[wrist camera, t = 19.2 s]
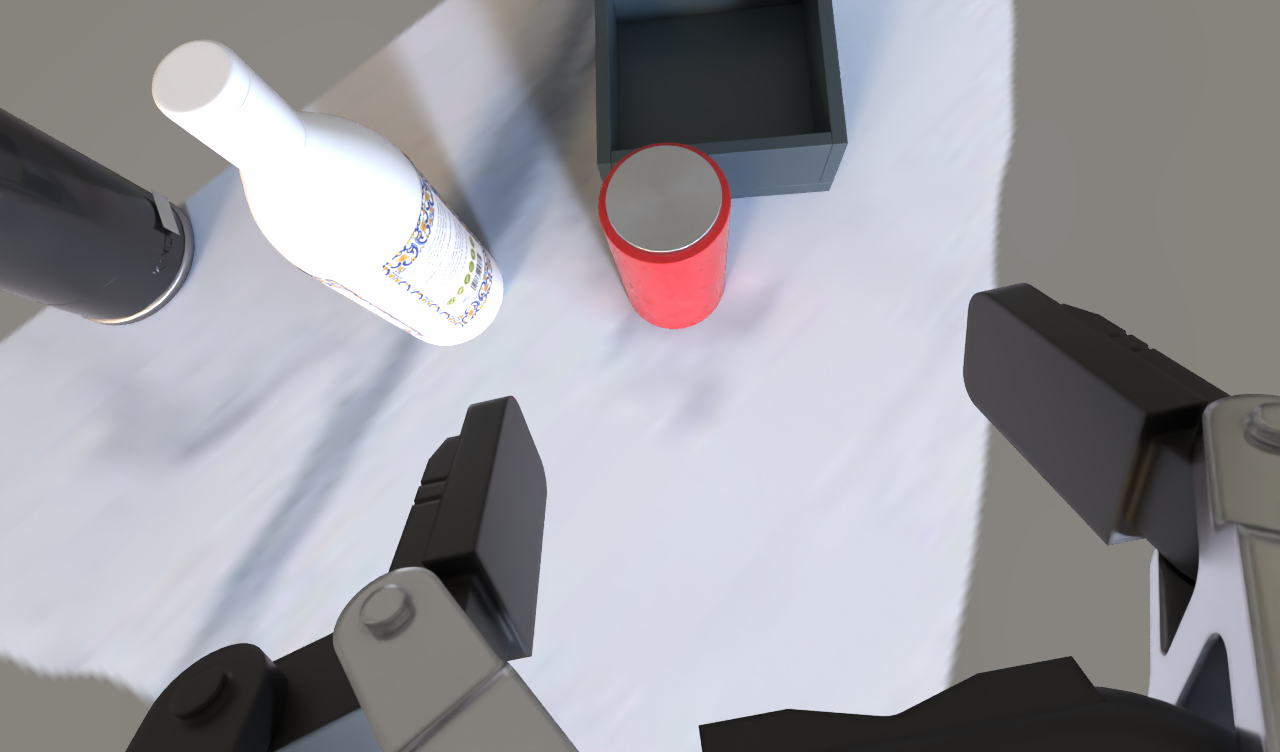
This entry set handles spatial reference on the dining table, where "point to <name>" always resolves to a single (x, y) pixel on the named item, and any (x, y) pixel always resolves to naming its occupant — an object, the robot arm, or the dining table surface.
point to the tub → (724, 87)
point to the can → (668, 231)
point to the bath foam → (336, 198)
